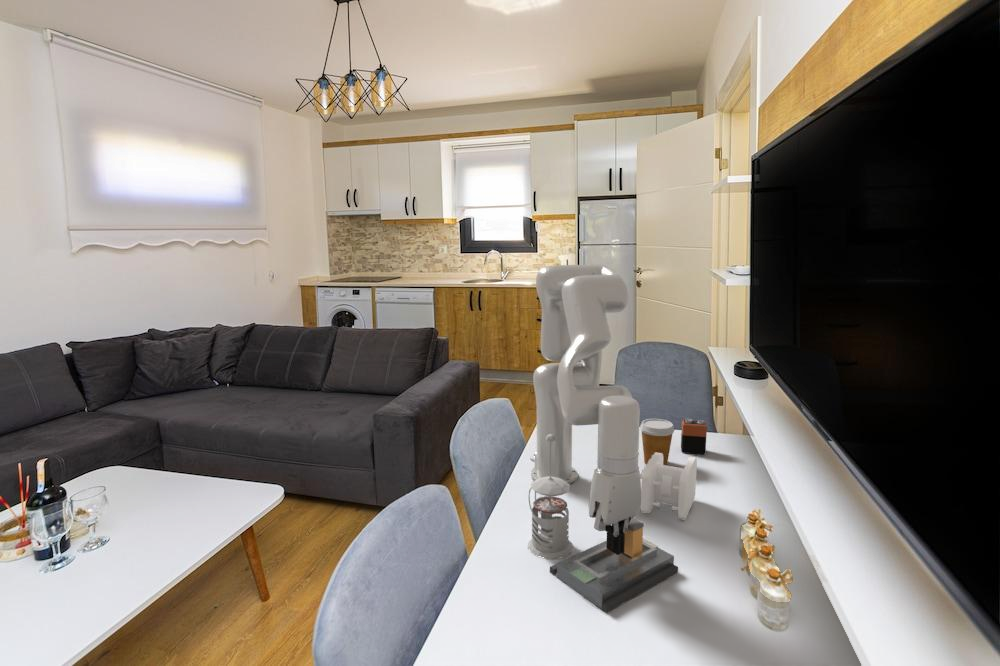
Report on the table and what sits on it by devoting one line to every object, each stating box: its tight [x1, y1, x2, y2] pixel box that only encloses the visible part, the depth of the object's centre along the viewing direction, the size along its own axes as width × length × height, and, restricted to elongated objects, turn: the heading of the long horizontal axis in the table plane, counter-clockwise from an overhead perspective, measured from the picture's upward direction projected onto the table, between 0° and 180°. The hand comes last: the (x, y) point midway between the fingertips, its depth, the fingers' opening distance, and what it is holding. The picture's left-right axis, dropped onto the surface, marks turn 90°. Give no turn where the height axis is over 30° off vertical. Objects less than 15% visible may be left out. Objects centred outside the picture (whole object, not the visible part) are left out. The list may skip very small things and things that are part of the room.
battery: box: [680, 417, 708, 455], centre depth 172 cm, size 4×7×10 cm, turn 77°
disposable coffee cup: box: [639, 418, 676, 466], centre depth 163 cm, size 10×10×12 cm
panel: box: [556, 537, 675, 611], centre depth 112 cm, size 12×20×4 cm, turn 126°
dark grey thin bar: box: [600, 564, 679, 614], centre depth 107 cm, size 1×20×1 cm, turn 126°
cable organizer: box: [640, 452, 698, 521], centre depth 137 cm, size 15×11×12 cm
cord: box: [549, 563, 557, 576], centre depth 118 cm, size 1×20×1 cm, turn 126°
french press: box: [527, 434, 574, 560], centre depth 121 cm, size 10×12×25 cm
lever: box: [624, 517, 645, 558], centre depth 113 cm, size 4×3×6 cm
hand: (615, 550), depth 111 cm, fingers closed
